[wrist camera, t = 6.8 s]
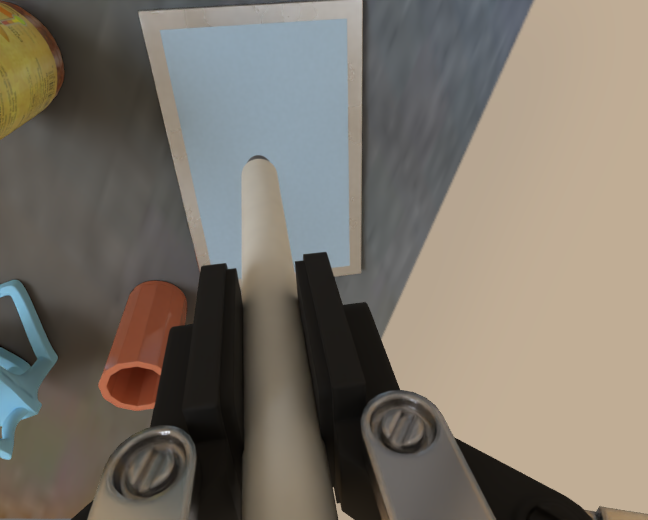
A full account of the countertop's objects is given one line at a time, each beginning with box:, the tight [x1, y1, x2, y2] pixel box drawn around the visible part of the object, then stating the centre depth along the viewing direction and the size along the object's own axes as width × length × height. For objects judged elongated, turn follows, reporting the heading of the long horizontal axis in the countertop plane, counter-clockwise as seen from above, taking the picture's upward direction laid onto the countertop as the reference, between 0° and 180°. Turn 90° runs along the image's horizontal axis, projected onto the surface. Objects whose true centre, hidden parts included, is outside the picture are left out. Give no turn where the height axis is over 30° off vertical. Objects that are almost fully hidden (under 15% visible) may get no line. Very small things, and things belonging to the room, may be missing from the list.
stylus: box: [241, 155, 338, 520], centre depth 12 cm, size 1×1×15 cm
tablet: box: [138, 0, 363, 288], centre depth 32 cm, size 20×13×1 cm, turn 2°
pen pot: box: [98, 281, 187, 411], centre depth 33 cm, size 5×5×9 cm
